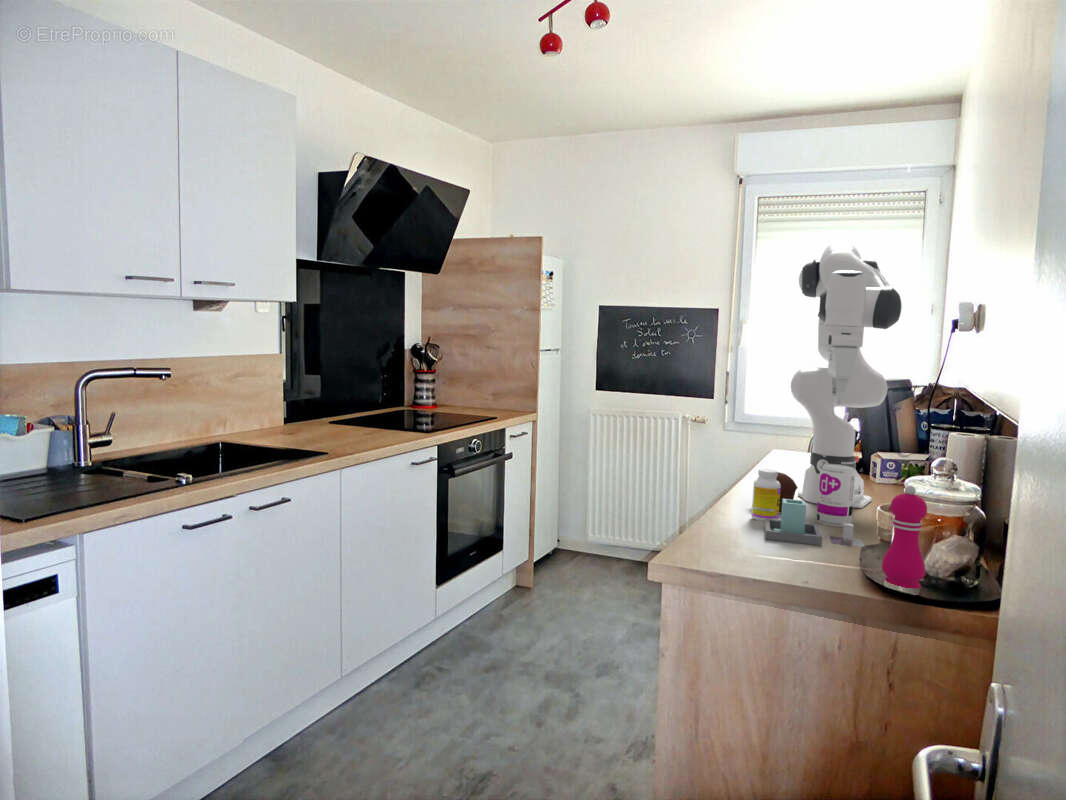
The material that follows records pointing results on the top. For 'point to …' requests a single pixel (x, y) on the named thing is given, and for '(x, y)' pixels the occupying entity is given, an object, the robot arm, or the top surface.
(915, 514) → the pepper mill
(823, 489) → the supplement can
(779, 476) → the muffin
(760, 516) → the supplement bottle
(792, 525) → the collar
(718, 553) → the top surface
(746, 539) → the top surface
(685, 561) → the top surface
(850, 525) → the square peg base
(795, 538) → the tray
